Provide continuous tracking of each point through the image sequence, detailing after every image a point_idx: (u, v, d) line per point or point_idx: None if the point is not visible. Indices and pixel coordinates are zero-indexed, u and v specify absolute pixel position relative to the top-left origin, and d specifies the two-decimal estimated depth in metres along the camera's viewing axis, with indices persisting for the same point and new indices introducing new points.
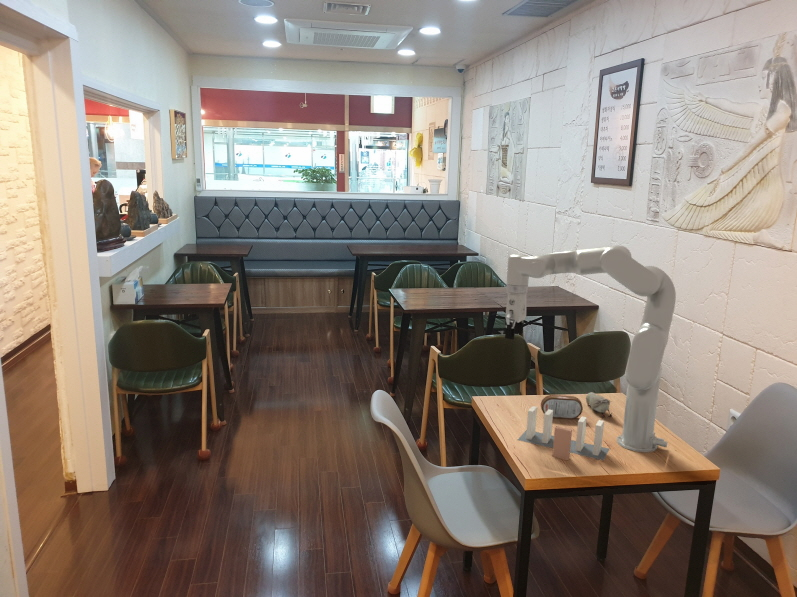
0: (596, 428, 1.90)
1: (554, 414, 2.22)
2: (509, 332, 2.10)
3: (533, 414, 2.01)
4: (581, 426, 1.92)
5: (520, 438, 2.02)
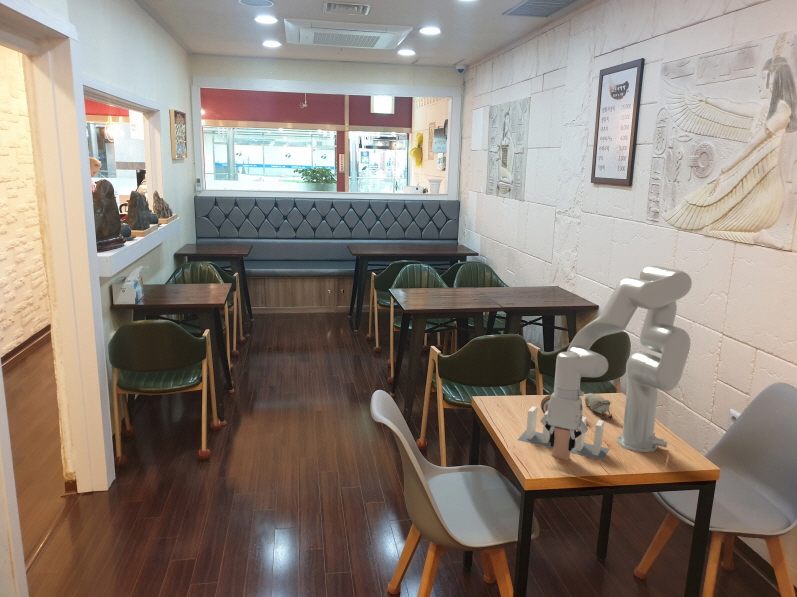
0: (596, 428, 1.90)
1: None
2: (574, 442, 1.86)
3: (533, 414, 2.01)
4: None
5: (520, 438, 2.02)
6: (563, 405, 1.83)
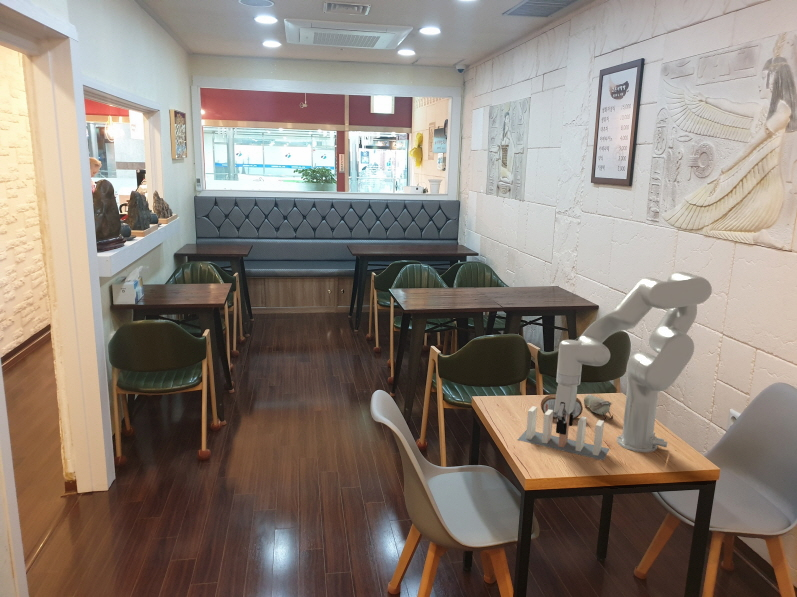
0: (596, 428, 1.90)
1: (554, 414, 2.22)
2: None
3: (533, 414, 2.01)
4: (581, 426, 1.92)
5: (520, 438, 2.02)
6: (575, 389, 1.94)
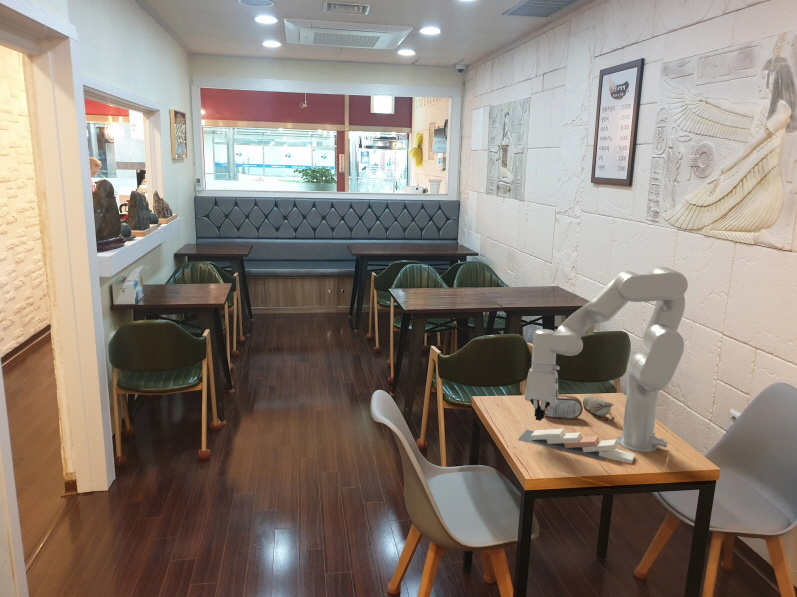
0: (628, 460, 1.86)
1: (554, 414, 2.22)
2: (544, 412, 2.00)
3: None
4: (609, 449, 1.88)
5: (520, 438, 2.02)
6: (540, 379, 1.96)
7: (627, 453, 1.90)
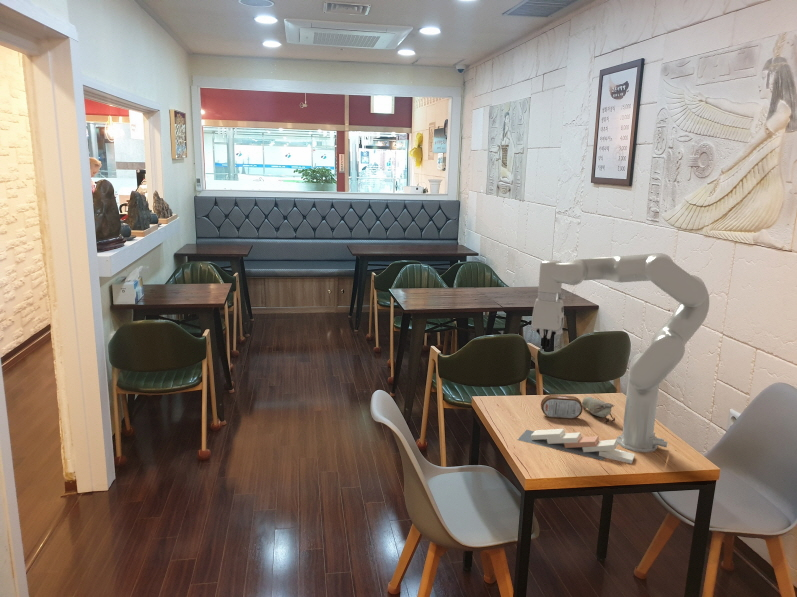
0: (628, 460, 1.86)
1: (554, 414, 2.22)
2: (550, 342, 2.06)
3: None
4: (609, 449, 1.88)
5: (520, 438, 2.02)
6: (546, 308, 2.02)
7: (627, 453, 1.90)
